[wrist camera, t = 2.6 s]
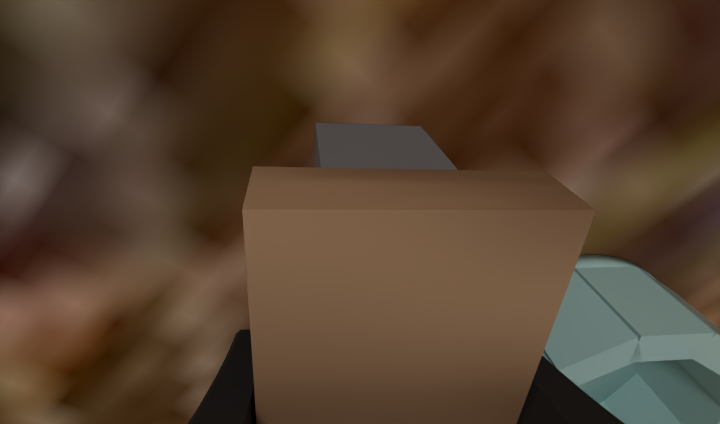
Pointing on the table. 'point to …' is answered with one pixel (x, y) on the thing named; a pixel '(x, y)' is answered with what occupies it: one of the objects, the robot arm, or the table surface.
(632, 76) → the table surface
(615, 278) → the bowl
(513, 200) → the walnut board
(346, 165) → the grey rectangular block
